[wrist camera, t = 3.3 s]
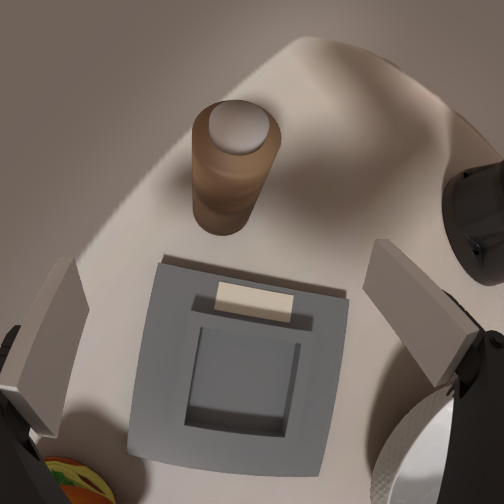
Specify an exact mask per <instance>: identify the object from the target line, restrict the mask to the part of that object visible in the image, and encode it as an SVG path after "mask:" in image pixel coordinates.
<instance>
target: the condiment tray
mask: <svg viewBox="0 0 504 504" xmlns="http://www.w3.org/2000/svg"><path fill="white" fill-rule="evenodd" d="M348 307H349V299H343V298H338V297H332V296H326V295H321V294H315V293H309V292H304V291H299V290H293V289H288V288H282V287H277V286H272V285H267V284H261V283H256V282H251V281H246V280H241V279H236V278H231V277H226V276H221V275H216V274H211V273H206V272H201V271H196V270H192V269H187V268H182V267H177V266H173V265H168V264H163V263H159V262H158V266H157V270H156V275H155V279H154V283H153V288H152V292H151V297H150V302H149V307H148V311H147V316H146V321H145V327H144V332H143V337H142V343H141V348H140V354H139V360H138V366H137V372H136V378H135V385H134V392H133V399H132V406H131V414H130V422H129V431H128V441H127V451H126V454H129V455H133V456H136V457H140V458H144V459H149V460H153V461H157V462H162V463H167V464H172V465H177V466H182V467H188V468H194V469H200V470H207V471H214V472H222V473H232V474H242V475H256V476H276V477H318V476H319V472H320V468H321V464H322V460H323V456H324V451H325V447H326V443H327V438H328V433H329V429H330V424H331V419H332V414H333V409H334V403H335V398H336V392H337V387H338V381H339V375H340V368H341V362H342V355H343V348H344V341H345V333H346V325H347V316H348Z"/></svg>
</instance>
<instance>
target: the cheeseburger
mask: <svg viewBox="0 0 504 504" xmlns="http://www.w3.org/2000/svg"><path fill="white" fill-rule="evenodd" d="M43 460H44V461H45V463H46V465H47V466H48V468H49V470H50V471H51V473H52V475H53V476H54V478H55V479H56V481H57V482H58V484H59V485H60V487H61V488H62V490H63V491H64V493H65V494H66V496H67V497H68V498H69V500H70V501H71V503H72V504H117V503H116V499H115V496H114V495H113V493H112V491H111V489H110V488H109V487H108V486H107V484H106V483H105V481H104V480H103V479H102V478H101V477H100V476H99V475H97V474H96V473H95V472H93V471H92V470H91V469H90V468H89V467H87V466H85V465H83V464H80V463H78V462H76V461H74V460H72V459H70V458H61V457H53V456H51V457H48V458H44V459H43Z"/></svg>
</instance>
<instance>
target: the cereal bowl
mask: <svg viewBox="0 0 504 504" xmlns="http://www.w3.org/2000/svg"><path fill="white" fill-rule="evenodd" d="M451 386H452V385H449V386H447V387H443V388H442V389H440V390H437V391H436V392H434V393H432V394H430V395H429V396H428V397H426V398H424V399H423V400H422V401H421V402H419V403H418V404H417V405H416V406H415V407H414V408H413V409H411V410H410V411H409V413H408V414H406V415H405V417H403V419H402V420H401V421H400V422H399V424H398V425H397V426H396V427H395V429H394V430H393V431H392V433H391V435H390V436H389V438H388V439H387V441H386V443H385V444H384V447H383V448H382V450H381V452H380V454H379V457H378V458H377V461H376V463H375V467H374V471H373V473H372V479H371V488H370V499H371V504H436V503H437V499H438V495H439V491H440V487H441V483H442V478H443V473H444V468H445V463H446V457H447V451H448V445H449V438H450V430H451V422H452V412H453V401H454V398H453V397H452V395H453V394H454V390H453V391H452V392H451V393H450V395H449V396H446V394H447V391H448V390H449V389H450V387H451Z"/></svg>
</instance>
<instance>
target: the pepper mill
mask: <svg viewBox="0 0 504 504" xmlns="http://www.w3.org/2000/svg"><path fill="white" fill-rule="evenodd" d="M280 144H281V132H280V128H279V126H278V124H277V122H276V121H275V119H274V118H273V117H272V116H271V115H270V114H269V113H268V112H267V111H266V110H264V109H263V108H261V107H259V106H257V105H255V104H253V103H251V102H248V101H243V100H228V101H222V102H218V103H215V104H212V105H210V106H209V107H207V108H205V109H204V110H203V111H202V112H201V113H200V114H199V115H198V116H197V118H196V119H195V122H194V124H193V128H192V193H193V214H194V217H195V220H196V221H197V223H198V224H199V226H200V227H201V228H202V229H204V230H205V231H207V232H208V233H211V234H214V235H219V236H226V235H231V234H234V233H236V232H238V231H239V230H241V229H242V228H243V227H244V226H245V224H246V223H247V221H248V219H249V217H250V214H251V212H252V210H253V208H254V205H255V203H256V201H257V198H258V196H259V194H260V191H261V189H262V187H263V184H264V182H265V180H266V178H267V175H268V173H269V171H270V168H271V166H272V164H273V162H274V159H275V157H276V155H277V152H278V150H279V148H280Z"/></svg>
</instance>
